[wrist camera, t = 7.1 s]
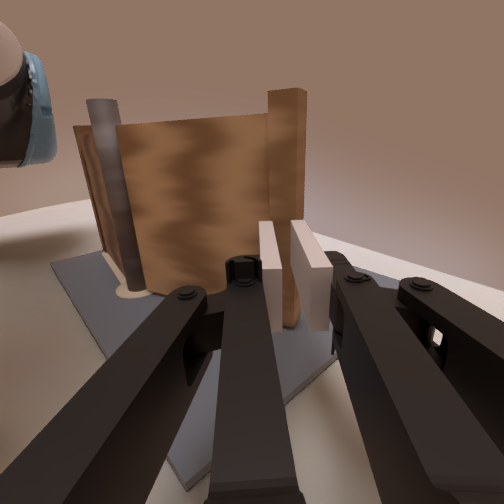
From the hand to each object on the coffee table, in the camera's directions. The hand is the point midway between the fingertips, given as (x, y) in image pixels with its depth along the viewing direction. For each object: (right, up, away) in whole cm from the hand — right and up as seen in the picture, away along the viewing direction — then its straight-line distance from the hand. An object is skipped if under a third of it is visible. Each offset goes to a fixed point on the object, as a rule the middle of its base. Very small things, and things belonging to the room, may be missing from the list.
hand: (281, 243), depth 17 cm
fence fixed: (-15, -2, +14) cm, 21 cm away
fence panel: (-5, -4, +6) cm, 9 cm away
